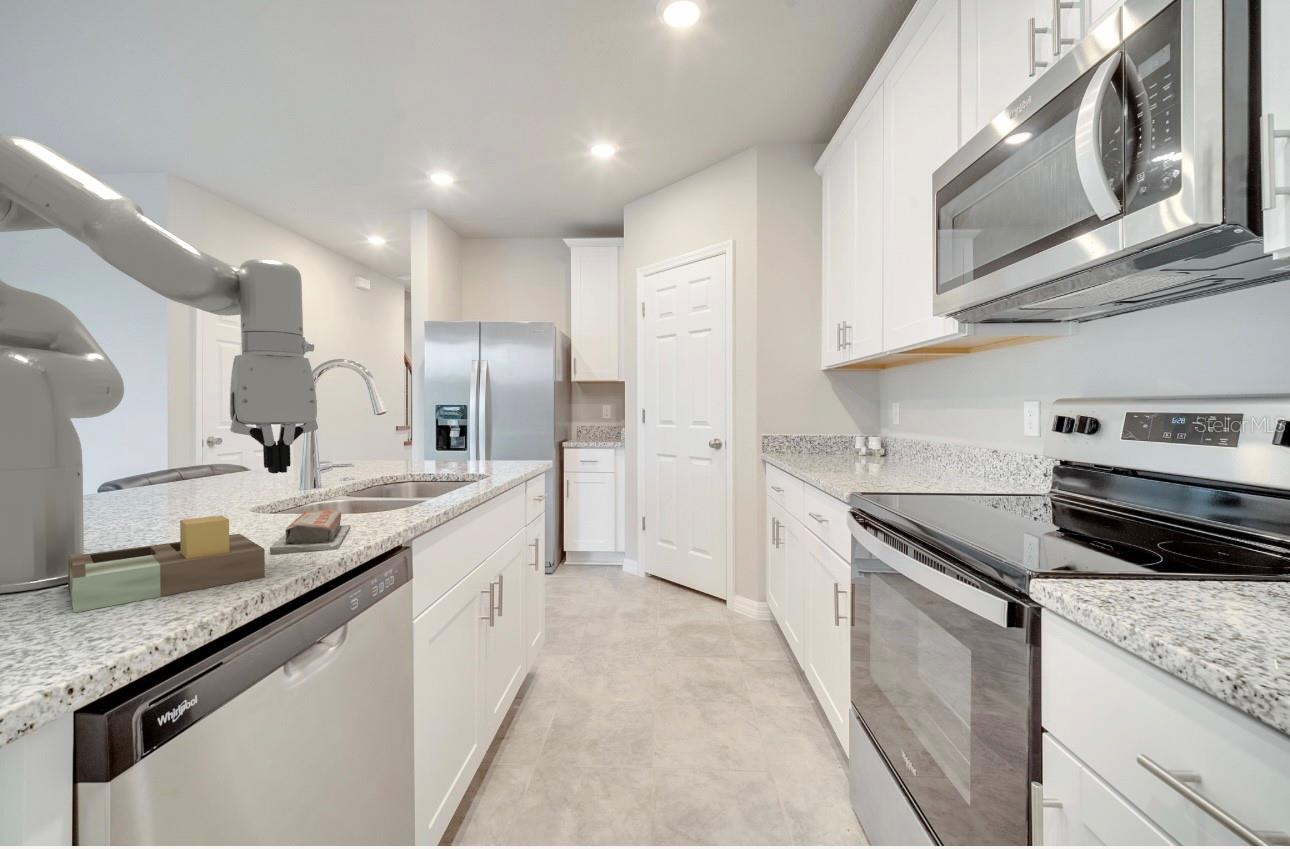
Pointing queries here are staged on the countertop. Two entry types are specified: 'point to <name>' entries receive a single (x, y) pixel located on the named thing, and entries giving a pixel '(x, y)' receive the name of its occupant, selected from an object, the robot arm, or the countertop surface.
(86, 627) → the countertop surface
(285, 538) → the packaged product
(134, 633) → the countertop surface
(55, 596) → the countertop surface
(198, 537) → the ochre block
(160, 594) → the box
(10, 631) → the countertop surface
